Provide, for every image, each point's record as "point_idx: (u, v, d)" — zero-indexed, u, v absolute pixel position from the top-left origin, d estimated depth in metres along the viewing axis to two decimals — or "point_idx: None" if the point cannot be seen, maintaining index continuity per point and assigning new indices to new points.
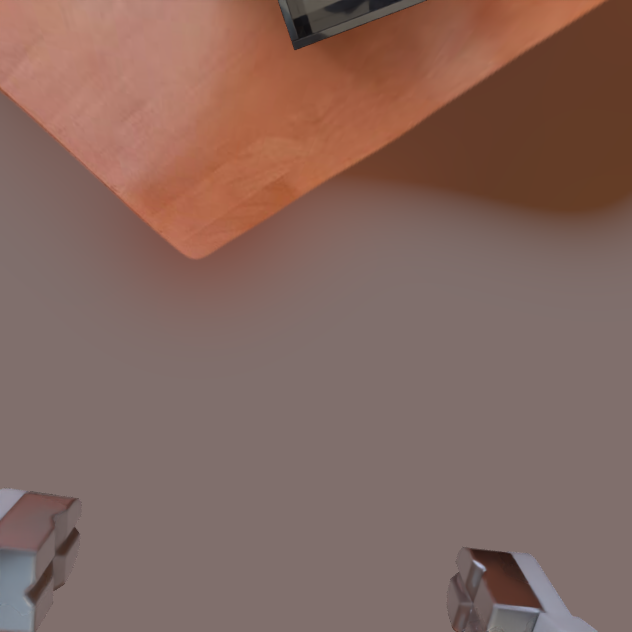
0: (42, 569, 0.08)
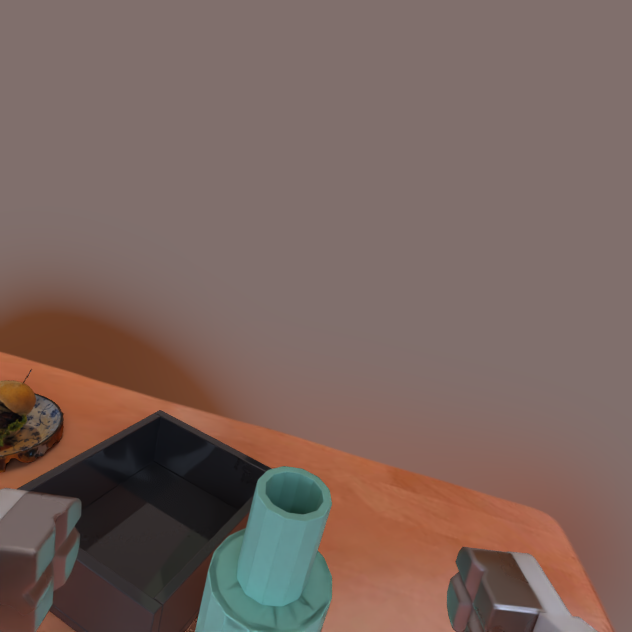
0: (42, 569, 0.08)
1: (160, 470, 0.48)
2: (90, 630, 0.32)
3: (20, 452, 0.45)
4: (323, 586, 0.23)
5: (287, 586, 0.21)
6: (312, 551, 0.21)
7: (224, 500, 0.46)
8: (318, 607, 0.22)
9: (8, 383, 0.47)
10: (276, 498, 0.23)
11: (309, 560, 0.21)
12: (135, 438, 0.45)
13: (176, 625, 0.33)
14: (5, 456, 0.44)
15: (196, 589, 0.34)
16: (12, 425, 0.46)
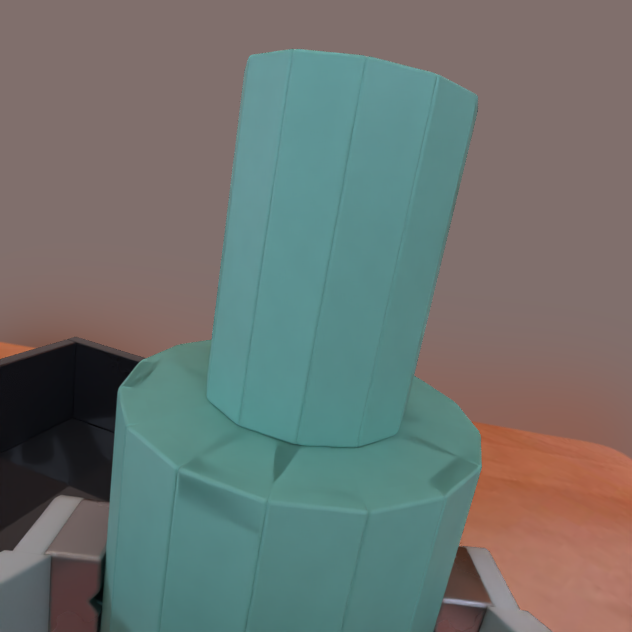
0: None
1: (82, 427, 0.32)
2: None
3: None
4: (446, 415, 0.09)
5: (373, 368, 0.07)
6: (439, 249, 0.07)
7: None
8: (459, 449, 0.07)
9: None
10: None
11: (430, 285, 0.07)
12: (33, 370, 0.29)
13: None
14: None
15: None
16: None
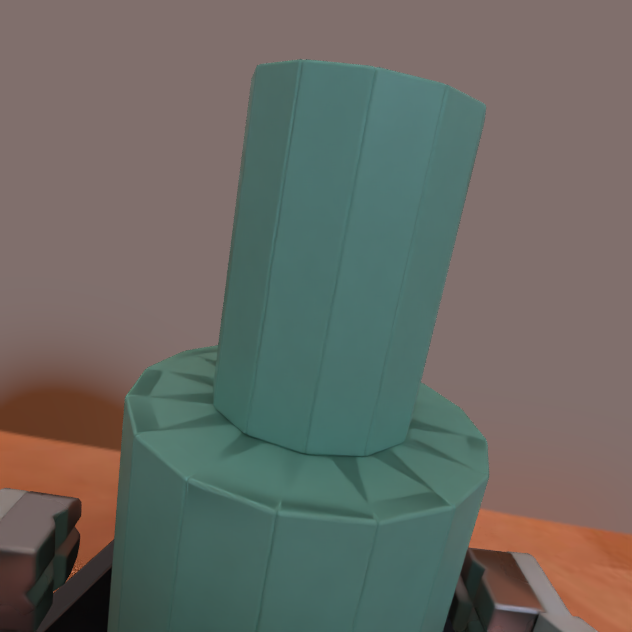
0: (42, 569, 0.08)
1: None
2: None
3: None
4: (453, 421, 0.09)
5: (381, 377, 0.07)
6: (447, 257, 0.07)
7: None
8: (466, 456, 0.07)
9: None
10: None
11: (438, 293, 0.07)
12: None
13: None
14: None
15: None
16: None
